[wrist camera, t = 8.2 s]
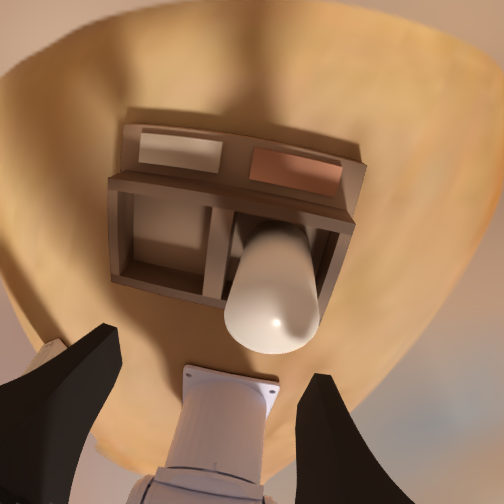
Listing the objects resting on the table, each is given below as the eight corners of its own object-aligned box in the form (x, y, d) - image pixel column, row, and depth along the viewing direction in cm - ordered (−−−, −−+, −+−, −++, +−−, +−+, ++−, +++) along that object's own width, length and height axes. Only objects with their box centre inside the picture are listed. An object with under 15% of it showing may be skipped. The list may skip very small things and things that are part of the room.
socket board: (319, 299, 19) (324, 330, 16) (127, 260, 19) (106, 283, 16) (362, 162, 15) (379, 173, 12) (132, 122, 15) (104, 126, 12)
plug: (298, 286, 17) (300, 361, 12) (238, 270, 17) (216, 341, 12) (319, 231, 15) (334, 294, 10) (253, 213, 15) (234, 267, 10)
